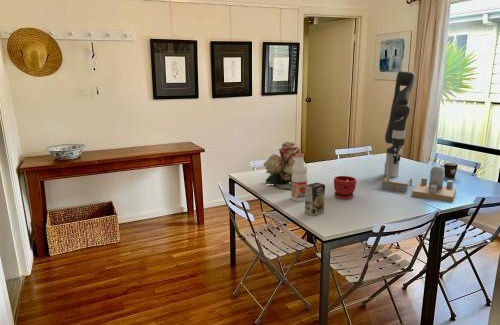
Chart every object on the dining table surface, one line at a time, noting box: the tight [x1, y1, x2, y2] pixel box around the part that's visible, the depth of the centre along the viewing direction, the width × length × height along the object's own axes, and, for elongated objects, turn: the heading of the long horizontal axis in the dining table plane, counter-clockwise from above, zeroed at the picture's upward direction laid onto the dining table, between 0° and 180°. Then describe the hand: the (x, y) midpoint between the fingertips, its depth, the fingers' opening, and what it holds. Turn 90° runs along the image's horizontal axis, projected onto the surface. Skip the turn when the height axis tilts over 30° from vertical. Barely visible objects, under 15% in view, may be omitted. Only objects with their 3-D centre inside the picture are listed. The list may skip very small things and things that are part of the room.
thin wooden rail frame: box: [380, 175, 413, 193], centre depth 242 cm, size 16×17×5 cm
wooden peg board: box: [411, 165, 457, 202], centre depth 225 cm, size 22×21×17 cm
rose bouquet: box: [263, 141, 302, 190], centre depth 248 cm, size 26×29×30 cm
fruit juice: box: [290, 153, 308, 202], centre depth 219 cm, size 9×9×28 cm
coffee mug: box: [439, 161, 459, 180], centre depth 261 cm, size 12×9×10 cm
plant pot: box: [333, 175, 357, 200], centre depth 224 cm, size 13×13×12 cm
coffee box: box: [304, 182, 326, 217], centre depth 198 cm, size 9×6×16 cm
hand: (396, 162), depth 232 cm, fingers open, 8 cm apart
